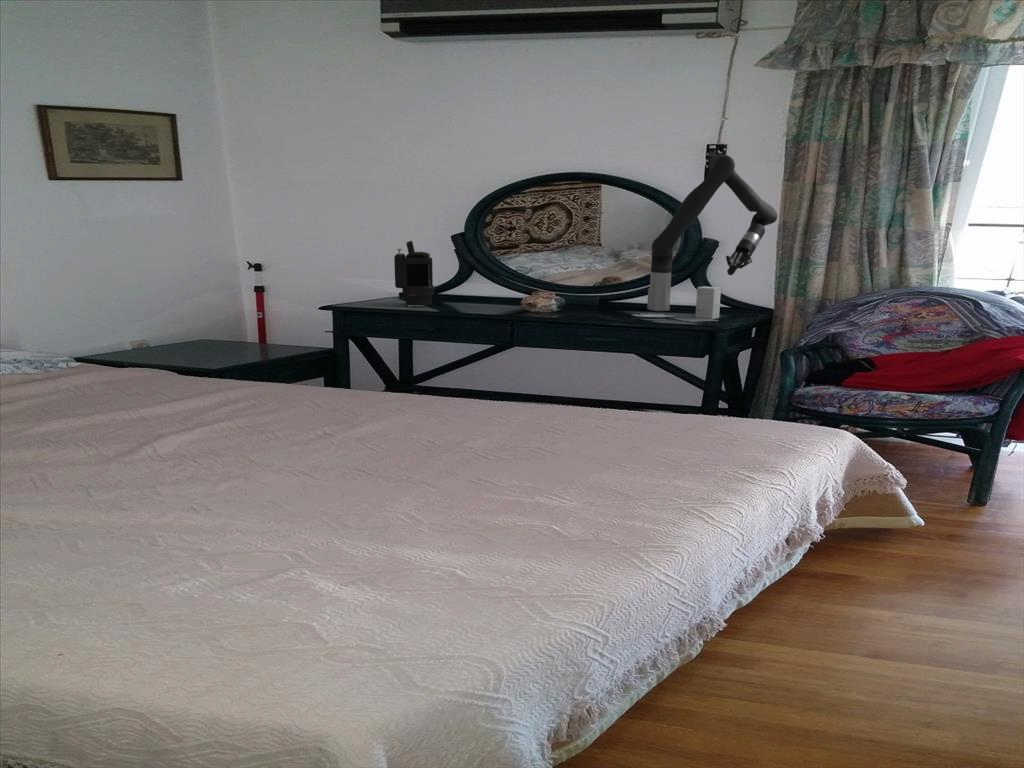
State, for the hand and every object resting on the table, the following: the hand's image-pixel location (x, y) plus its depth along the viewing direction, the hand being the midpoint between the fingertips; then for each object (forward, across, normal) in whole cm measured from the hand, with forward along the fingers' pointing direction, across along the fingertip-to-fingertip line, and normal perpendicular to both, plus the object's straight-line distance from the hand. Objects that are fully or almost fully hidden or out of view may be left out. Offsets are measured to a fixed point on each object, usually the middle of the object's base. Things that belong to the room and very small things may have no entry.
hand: (729, 273), depth 322 cm
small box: (+23, 0, +3) cm, 23 cm away
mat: (+30, 0, -5) cm, 30 cm away
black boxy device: (+77, -109, -52) cm, 144 cm away
